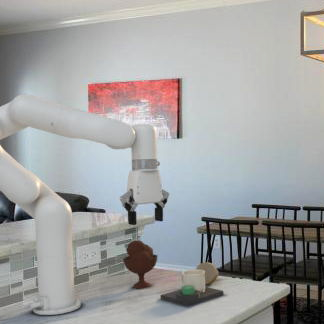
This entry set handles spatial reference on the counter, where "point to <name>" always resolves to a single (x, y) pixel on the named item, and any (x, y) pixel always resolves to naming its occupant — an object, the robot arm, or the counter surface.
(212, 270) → the mug
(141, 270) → the ice cream bowl
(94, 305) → the counter surface
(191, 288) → the button
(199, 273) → the cream cup
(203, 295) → the scale
